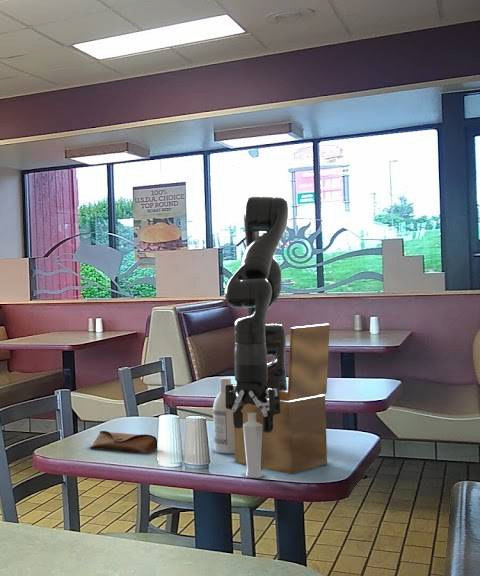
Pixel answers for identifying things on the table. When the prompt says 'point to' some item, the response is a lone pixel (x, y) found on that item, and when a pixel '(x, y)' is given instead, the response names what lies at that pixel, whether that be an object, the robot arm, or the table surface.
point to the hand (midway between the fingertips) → (253, 429)
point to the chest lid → (308, 361)
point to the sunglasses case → (125, 442)
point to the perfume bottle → (253, 446)
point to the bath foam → (223, 422)
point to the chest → (289, 435)
